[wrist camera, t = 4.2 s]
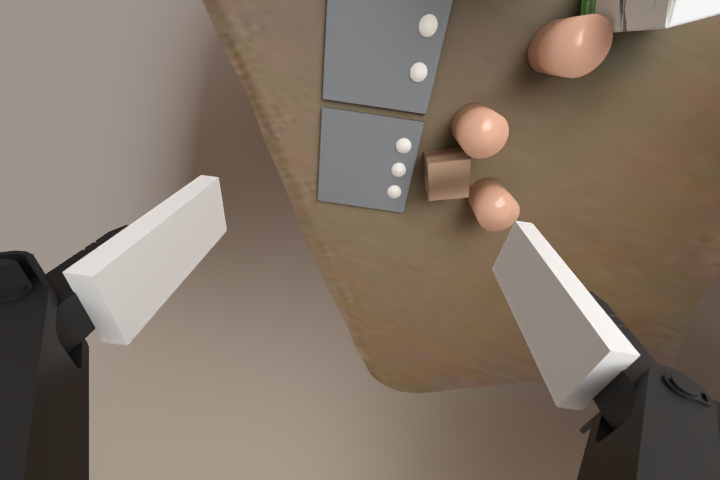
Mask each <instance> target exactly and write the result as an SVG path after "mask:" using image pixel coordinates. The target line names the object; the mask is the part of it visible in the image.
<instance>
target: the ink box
mask: <svg viewBox="0 0 720 480" xmlns="http://www.w3.org/2000/svg"><path fill="white" fill-rule="evenodd" d="M588 14H599V15H602V16H604V17H606V18H607V19H608V20H609V22H610V23H611V25H612V29H613V32H625V31H641V30H655V29H666V28H670V27H674V26H678V25H681V24H685V23H689V22H693V21H697V20H701V19H704V18H708V17H712V16H715V15H719V14H720V0H581V13H580V16H582V15H588Z"/></svg>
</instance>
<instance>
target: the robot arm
mask: <svg viewBox="0 0 720 480" xmlns="http://www.w3.org/2000/svg"><path fill="white" fill-rule="evenodd" d="M226 231H227V229H226V222H225V216H224V209H223V202H222V196H221V190H220V183H219V178H218V177H211V176H204V175H201V176H199V177H198V178H196V179H195V180H194V181H192V182H191V183H189V184H188V185H186V186H185V187H184V188H182V189H181V190H179V191H178V192H176V193H175V194H173V195H172V196H171V197H169V198H168V199H166V200H165V201H163V202H162V203H161V204H159V205H158V206H157V207H155V208H154V209H152V210H151V211H149V212H148V213H146V214H145V215H143V216H142V217H140V218H139V219H138V220H136V221H135V222H133V223H132V224H130V225H125V226H123V227H120V228H118V229H115V230H113V231H110V232H108V233H107V234H105V235H104V236H102V237H101V238H99V239H98V240H96V242H95V243H92V244H90V245H89V246H87V247H86V248H85V250H81V251H80V252H78V253H77V254H75V255H74V256H72V257H71V258H69V259H68V260H66V261H65V262H63V263H62V264H60V265H59V266H57V267H56V268H54V269H53V270H51V271H50V272H48V273H47V274H45V273H44V272H43V270H42V268H41V267H40V265H39V264H38V262H37V260H36V259H35V257H34V255H33V254H30V253H28V252H26V251H8V252H0V480H89V346H88V344H87V341H86V340H85V338H86V337H87V336H88V335H89V334H90V333H91V332H92V331H93V330H94V329H95V330H96V332H97V334H98V336H99V337H100V339H101V341H102V342H106V343H113V344H120V345H128V344H129V343H130V342H131V341H132V340H133V338H134V337H135V336H136V335H137V334H138V333H139V332H140V330H141V329H142V328H143V327H144V326H145V325H146V323H147V322H148V321H149V320H150V319H151V317H153V315H154V314H155V313H156V312H157V311H158V309H159V308H160V307H161V306H162V305H163V304H164V303H165V302H166V300H167V299H168V298H169V297H170V296H171V295H172V293H173V292H174V291H175V290H176V289H177V287H178V286H179V285H180V284H181V283H182V282H183V281H184V280H185V278H186V277H187V276H188V275H189V274H190V273H191V271H192V270H193V269H194V268H195V267H196V266H197V265H198V263H199V262H200V261H201V260H202V259H203V257H204V256H205V255H206V254H207V253H208V252H209V251H210V249H211V248H212V247H213V246H214V245H215V244H216V243H217V241H218V240H219V239H220V238H221V237H222V236H223V234H224V233H225V232H226ZM492 270H493V272H494V275H495V277H496V279H497V281H498V283H499V285H500V287H501V289H502V292H503V294H504V296H505V298H506V300H507V302H508V304H509V306H510V309H511V311H512V313H513V315H514V317H515V319H516V321H517V323H518V326H519V328H520V330H521V332H522V334H523V336H524V338H525V340H526V342H527V345H528V347H529V349H530V351H531V353H532V355H533V357H534V359H535V362H536V364H537V366H538V368H539V370H540V372H541V374H542V376H543V379H544V381H545V383H546V385H547V387H548V389H549V391H550V393H551V395H552V397H553V400H554V402H555V404H556V406H557V407H561V408H568V409H575V410H582V409H584V408H585V407H586V406H587V405H588V404H589V403H590V402H591V401H592V400H593V399H594V401H595V403H596V404H597V406H598V408H599V410H600V412H599V413H598V414H596V415H595V416H594V417H593V418H592V419H591V420H590V421H589V422H587V423H586V424H585V425H584V426H583V427H582V428H581V430H580V431H581V432H582V433H583V434H584V433H585V432H586V431H587V430H590V434H589V437H588V441H587V445H586V448H585V452H584V456H583V459H582V463H581V467H580V471H579V474H578V478H577V480H720V402H718V401H715V400H713V399H712V398H711V397H710V395H709V394H708V393H707V392H706V391H705V389H703V388H702V387H701V386H700V385H699V384H698V383H696V382H695V381H694V380H693V379H691V378H690V377H688V376H686V375H685V374H683V373H682V372H680V371H677V370H675V369H673V368H671V367H668V366H664V365H659V364H658V363H657V362H656V361H655V360H654V358H653V357H652V356H651V355H650V354H649V353H648V351H647V350H646V349H645V348H644V347H643V346H642V344H641V343H640V342H639V341H638V340H637V339H636V337H635V336H634V335H633V334H632V333H631V332H630V330H629V329H628V328H626V327H625V324H624V323H623V322H622V321H621V320H620V319H619V317H616V314H615V313H614V312H613V310H612V309H611V308H610V307H609V306H608V305H607V303H606V302H604V301H603V300H602V299H600V298H599V297H598V296H597V295H595V294H594V293H593V292H591V291H587V289H586V288H585V287H584V286H583V284H582V283H581V282H580V281H579V280H578V278H577V277H576V276H575V275H574V274H573V272H572V271H571V270H570V269H569V267H568V266H567V265H566V264H565V263H564V261H563V260H562V259H561V258H560V256H559V255H558V254H557V253H556V252H555V250H554V249H553V248H552V247H551V245H550V244H549V243H548V242H547V241H546V239H545V238H544V237H543V236H542V234H541V233H540V232H539V231H538V230H537V228H536V227H535V226H534V225H533V223H527V222H520V221H515V222H514V224H513V226H512V228H511V230H510V233H509V235H508V237H507V239H506V241H505V243H504V245H503V247H502V249H501V251H500V253H499V255H498V258H497V260H496V262H495V264H494V266H493V268H492Z"/></svg>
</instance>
